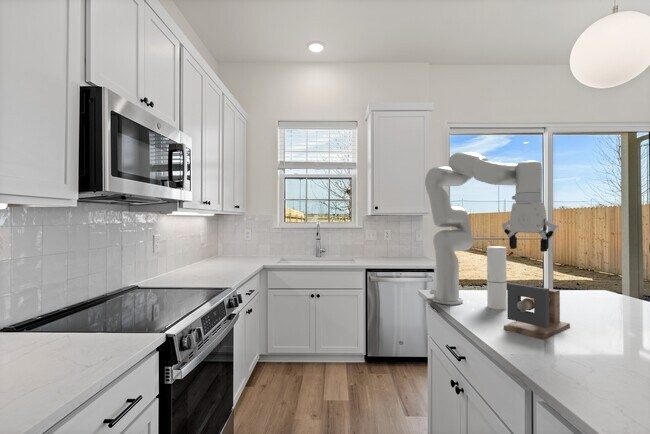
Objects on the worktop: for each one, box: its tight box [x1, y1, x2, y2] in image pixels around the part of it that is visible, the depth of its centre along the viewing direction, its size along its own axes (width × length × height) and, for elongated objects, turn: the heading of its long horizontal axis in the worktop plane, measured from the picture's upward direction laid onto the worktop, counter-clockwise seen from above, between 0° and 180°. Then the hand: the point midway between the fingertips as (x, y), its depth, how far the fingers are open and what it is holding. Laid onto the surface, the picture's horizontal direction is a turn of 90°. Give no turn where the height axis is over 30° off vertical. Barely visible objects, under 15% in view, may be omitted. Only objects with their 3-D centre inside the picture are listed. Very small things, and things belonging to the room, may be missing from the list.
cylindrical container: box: [486, 245, 507, 311], centre depth 143 cm, size 7×7×25 cm
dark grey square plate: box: [506, 282, 550, 328], centre depth 113 cm, size 12×2×12 cm, turn 35°
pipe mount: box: [503, 286, 571, 340], centre depth 117 cm, size 12×20×12 cm, turn 125°
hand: (528, 249), depth 116 cm, fingers open, 9 cm apart
